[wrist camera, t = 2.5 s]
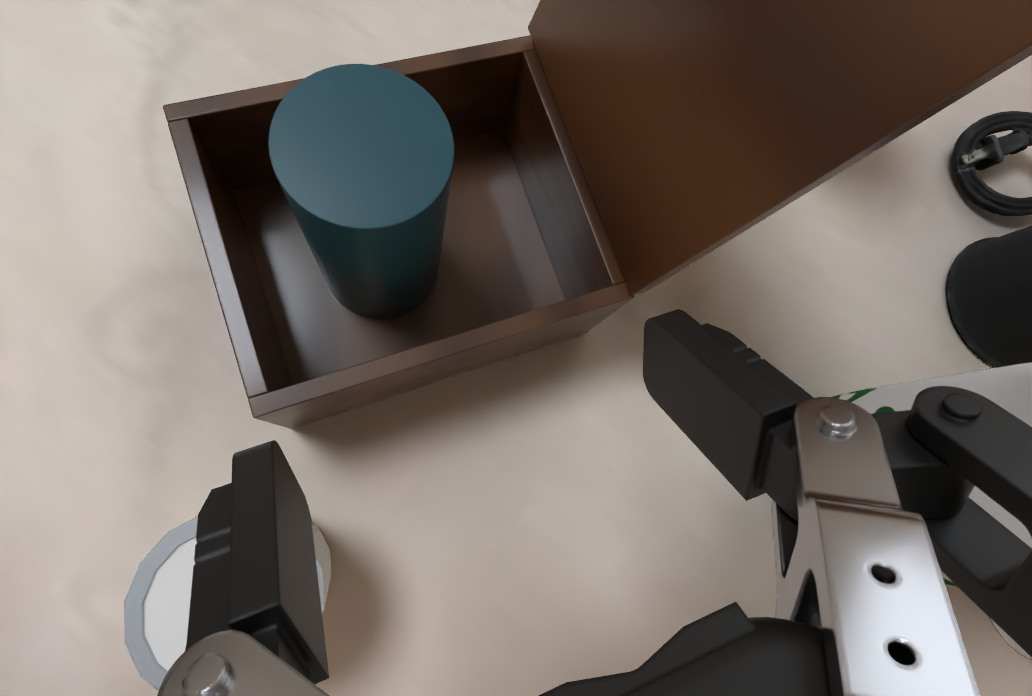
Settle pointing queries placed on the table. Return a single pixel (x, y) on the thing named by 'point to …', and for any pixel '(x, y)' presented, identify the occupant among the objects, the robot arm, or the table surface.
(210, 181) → the bin
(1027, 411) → the milk carton
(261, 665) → the robot arm
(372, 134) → the can
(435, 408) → the table surface
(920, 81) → the bin lid
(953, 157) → the milk frother
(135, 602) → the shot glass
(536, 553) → the table surface
